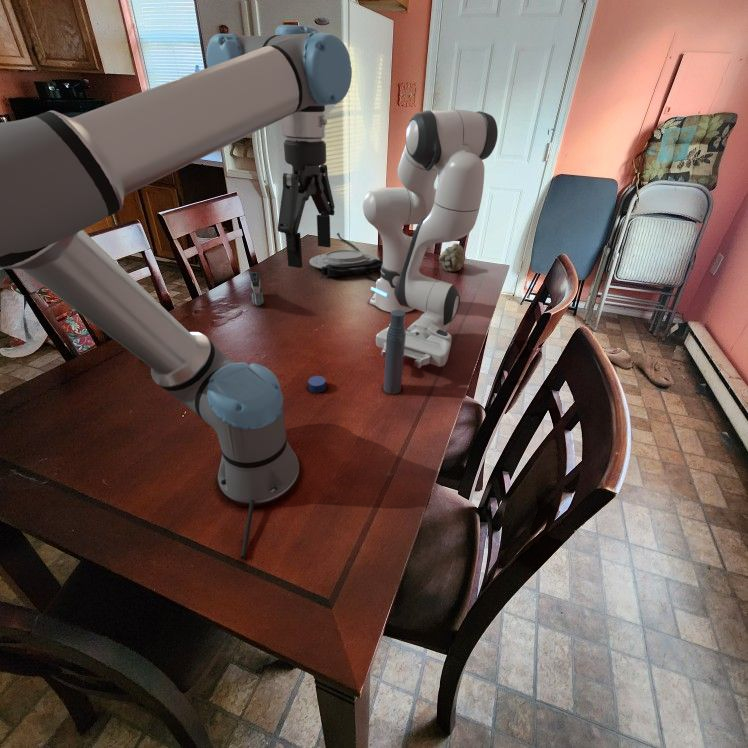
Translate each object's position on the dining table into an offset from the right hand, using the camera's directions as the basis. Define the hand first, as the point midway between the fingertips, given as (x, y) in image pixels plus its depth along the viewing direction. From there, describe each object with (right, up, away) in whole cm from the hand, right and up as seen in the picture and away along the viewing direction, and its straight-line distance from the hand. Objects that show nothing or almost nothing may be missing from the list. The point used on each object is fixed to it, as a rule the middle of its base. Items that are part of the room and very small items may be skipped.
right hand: (399, 359), depth 105 cm
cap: (-21, -6, -1) cm, 22 cm away
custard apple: (+27, +42, +74) cm, 90 cm away
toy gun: (-47, +21, +39) cm, 65 cm away
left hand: (-20, +21, -20) cm, 35 cm away
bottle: (-2, -8, +1) cm, 8 cm away
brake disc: (-19, +43, +72) cm, 86 cm away
